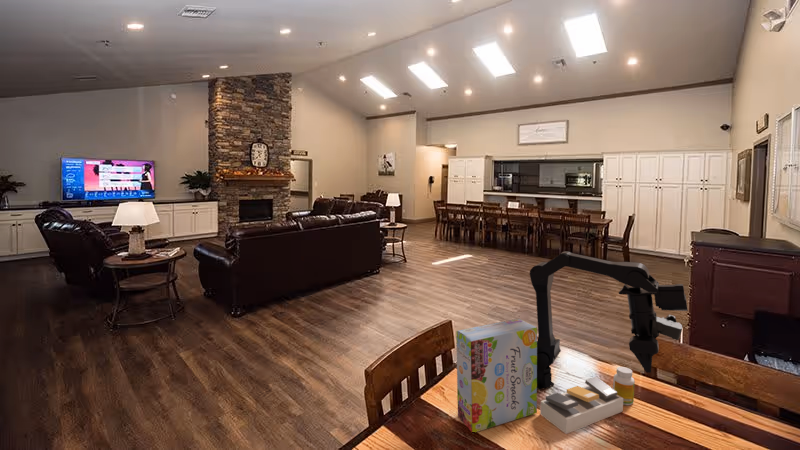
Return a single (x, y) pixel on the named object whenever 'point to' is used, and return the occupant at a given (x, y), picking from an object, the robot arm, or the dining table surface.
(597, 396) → the rocker middle
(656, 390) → the dining table surface
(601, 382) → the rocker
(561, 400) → the block
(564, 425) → the rocker switch box
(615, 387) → the supplement bottle
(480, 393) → the snack box
